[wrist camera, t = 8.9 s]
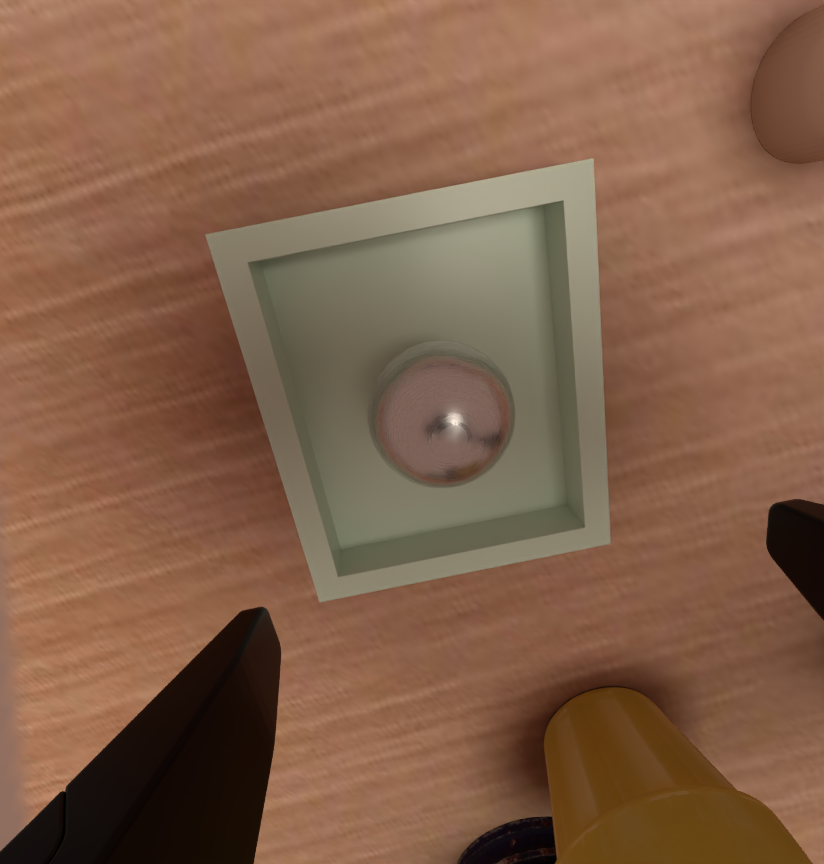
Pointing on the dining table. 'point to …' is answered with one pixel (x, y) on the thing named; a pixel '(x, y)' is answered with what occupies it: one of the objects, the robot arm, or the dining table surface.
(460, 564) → the tray
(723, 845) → the plant pot
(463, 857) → the storage jar
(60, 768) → the dining table surface
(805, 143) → the shaker
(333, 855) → the dining table surface
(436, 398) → the ball
